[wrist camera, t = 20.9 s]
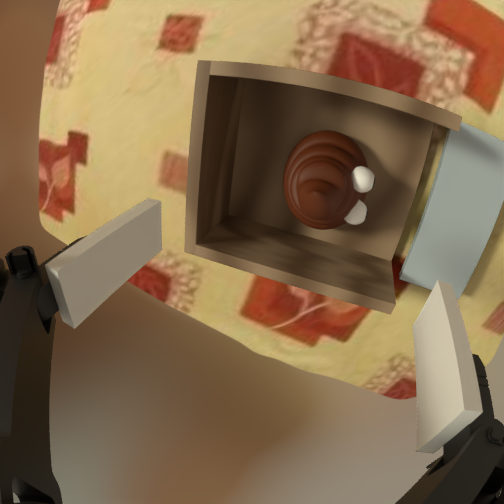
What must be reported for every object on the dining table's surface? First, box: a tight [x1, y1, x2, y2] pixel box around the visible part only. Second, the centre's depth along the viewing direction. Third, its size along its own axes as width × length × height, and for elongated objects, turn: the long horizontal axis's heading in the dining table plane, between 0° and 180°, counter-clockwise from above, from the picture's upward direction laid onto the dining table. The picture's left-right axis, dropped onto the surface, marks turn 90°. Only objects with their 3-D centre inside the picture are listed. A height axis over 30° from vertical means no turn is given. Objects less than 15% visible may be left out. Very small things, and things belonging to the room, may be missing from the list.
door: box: [399, 122, 504, 299], centre depth 26 cm, size 1×18×8 cm
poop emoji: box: [283, 130, 375, 230], centre depth 26 cm, size 10×8×9 cm
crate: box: [185, 60, 462, 314], centre depth 27 cm, size 20×18×9 cm
